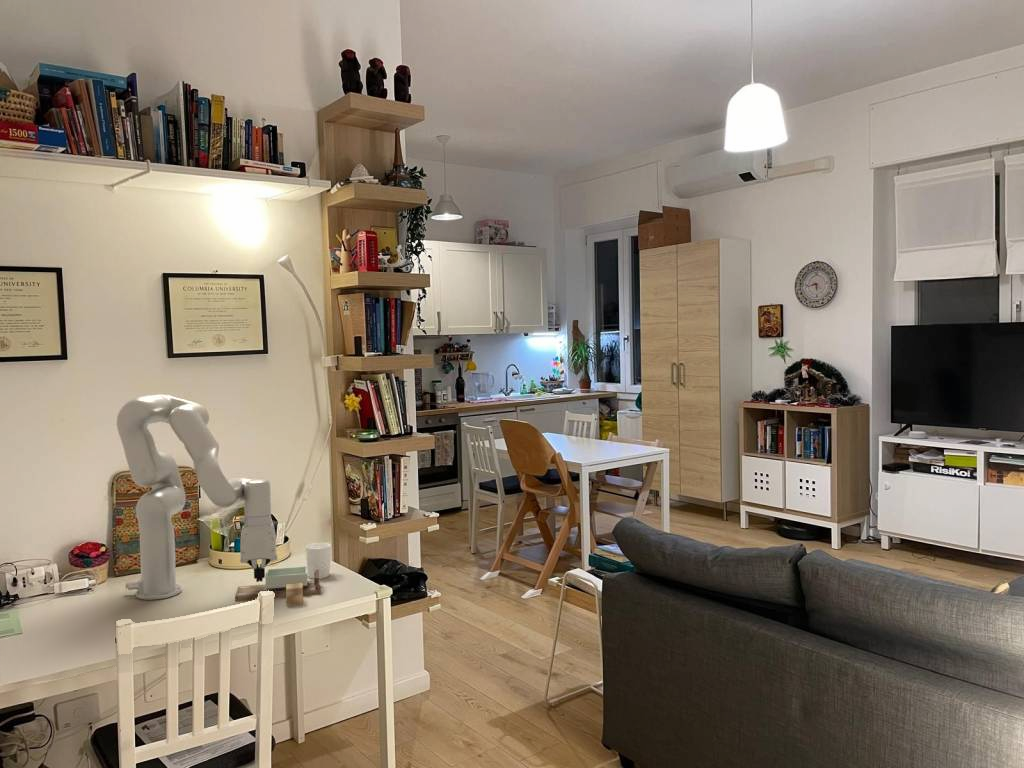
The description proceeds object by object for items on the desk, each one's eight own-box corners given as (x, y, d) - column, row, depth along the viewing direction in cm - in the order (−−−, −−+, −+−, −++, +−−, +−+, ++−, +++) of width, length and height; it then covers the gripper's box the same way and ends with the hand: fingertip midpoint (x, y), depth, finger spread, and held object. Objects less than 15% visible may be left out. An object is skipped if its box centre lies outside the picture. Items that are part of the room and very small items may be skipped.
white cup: (325, 580, 246) (325, 549, 246) (302, 579, 248) (301, 548, 247) (335, 572, 254) (334, 542, 254) (312, 571, 256) (311, 542, 255)
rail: (235, 600, 227) (234, 584, 226) (238, 590, 236) (237, 574, 236) (319, 593, 233) (319, 578, 232) (319, 584, 242) (318, 569, 242)
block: (286, 606, 222) (286, 588, 222) (286, 600, 227) (286, 584, 226) (302, 604, 223) (302, 587, 223) (302, 599, 228) (302, 582, 228)
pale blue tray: (265, 592, 230) (265, 576, 229) (267, 584, 237) (266, 569, 237) (307, 589, 233) (307, 573, 232) (307, 581, 240) (307, 566, 240)
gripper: (230, 524, 226) (232, 586, 227) (283, 521, 230) (284, 582, 231) (233, 519, 234) (234, 579, 235) (284, 516, 237) (285, 575, 238)
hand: (259, 580), depth 233 cm, fingers closed
